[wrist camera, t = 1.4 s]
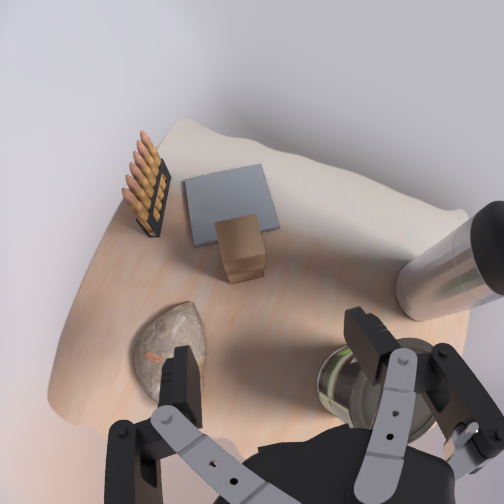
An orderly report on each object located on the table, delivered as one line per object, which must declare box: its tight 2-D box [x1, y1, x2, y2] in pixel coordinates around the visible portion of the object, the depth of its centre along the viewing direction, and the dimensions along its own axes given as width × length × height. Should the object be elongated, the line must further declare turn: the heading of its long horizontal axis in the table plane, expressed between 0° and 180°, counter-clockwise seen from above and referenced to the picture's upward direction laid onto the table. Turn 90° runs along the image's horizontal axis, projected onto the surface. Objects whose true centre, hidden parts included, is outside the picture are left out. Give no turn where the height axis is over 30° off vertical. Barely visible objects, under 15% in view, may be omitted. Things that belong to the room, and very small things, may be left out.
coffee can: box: [317, 338, 436, 445], centre depth 26 cm, size 10×10×14 cm
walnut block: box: [214, 214, 266, 284], centre depth 33 cm, size 4×4×10 cm
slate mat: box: [185, 164, 280, 246], centre depth 41 cm, size 12×11×1 cm
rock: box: [133, 302, 206, 403], centre depth 33 cm, size 15×4×10 cm
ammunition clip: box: [122, 131, 171, 237], centre depth 36 cm, size 11×2×12 cm, turn 178°
